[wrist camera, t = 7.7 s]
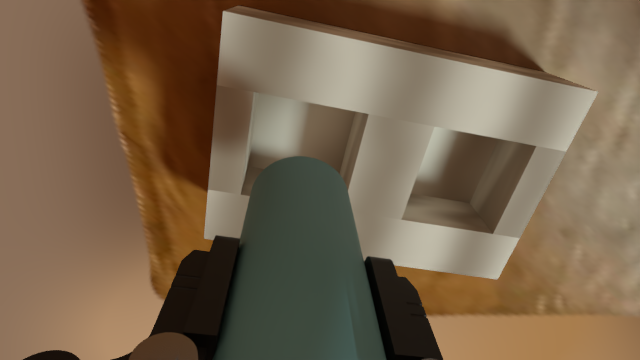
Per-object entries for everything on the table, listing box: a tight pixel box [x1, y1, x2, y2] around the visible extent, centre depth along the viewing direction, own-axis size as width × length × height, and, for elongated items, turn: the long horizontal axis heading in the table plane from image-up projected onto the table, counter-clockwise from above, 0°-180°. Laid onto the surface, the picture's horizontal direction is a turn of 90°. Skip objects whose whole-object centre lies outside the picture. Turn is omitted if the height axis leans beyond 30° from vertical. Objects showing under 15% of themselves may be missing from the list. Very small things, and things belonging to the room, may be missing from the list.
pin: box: [212, 156, 387, 360], centre depth 10 cm, size 4×4×12 cm
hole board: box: [204, 5, 598, 279], centre depth 22 cm, size 18×12×4 cm, turn 78°
